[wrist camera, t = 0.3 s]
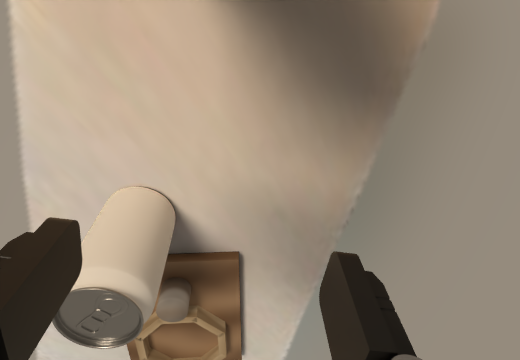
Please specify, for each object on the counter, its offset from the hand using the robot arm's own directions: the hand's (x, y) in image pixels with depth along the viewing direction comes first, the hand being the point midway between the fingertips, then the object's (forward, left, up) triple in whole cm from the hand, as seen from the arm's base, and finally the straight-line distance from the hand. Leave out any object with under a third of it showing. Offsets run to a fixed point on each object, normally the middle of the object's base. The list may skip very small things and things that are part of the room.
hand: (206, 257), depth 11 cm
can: (+11, -8, -19) cm, 24 cm away
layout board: (+24, -6, -19) cm, 31 cm away
